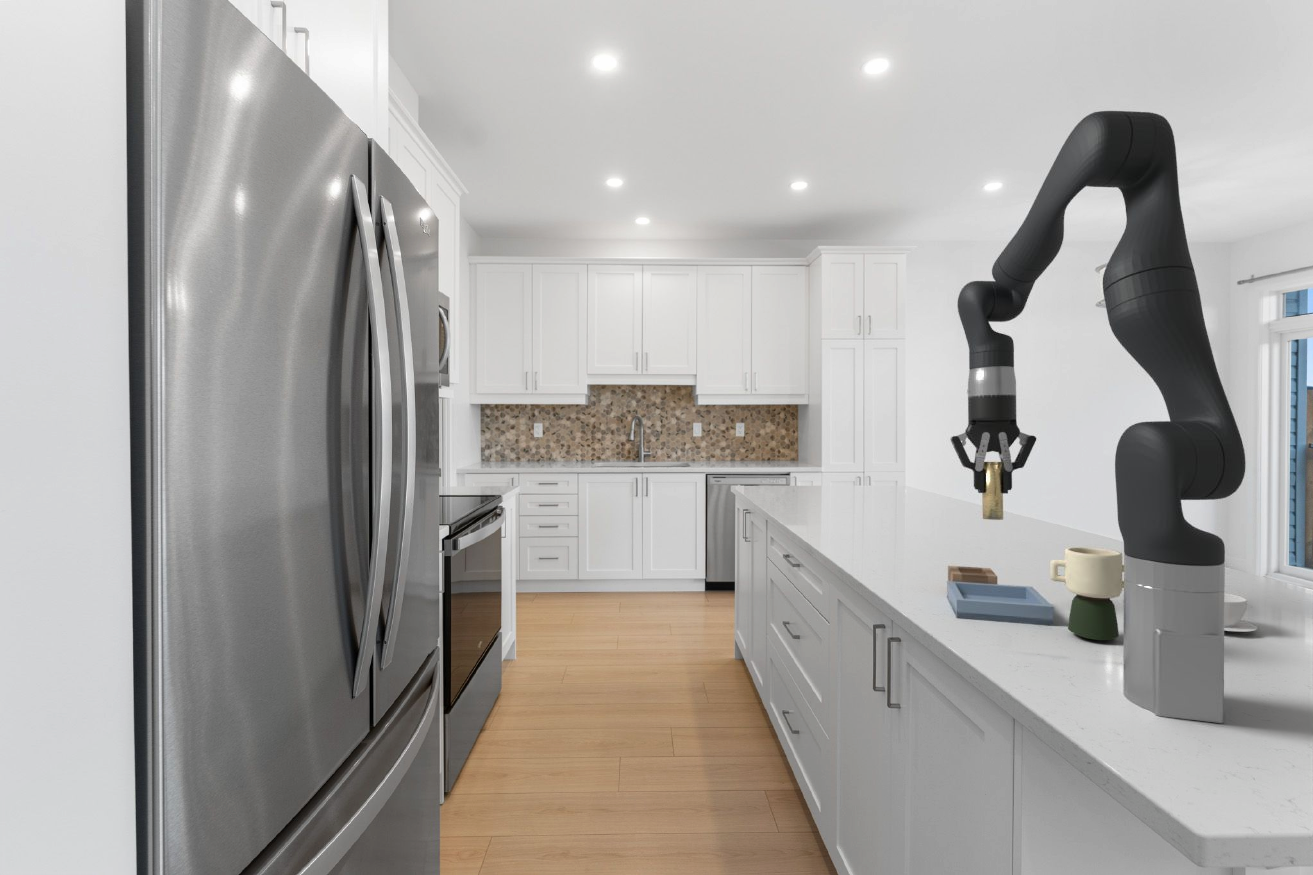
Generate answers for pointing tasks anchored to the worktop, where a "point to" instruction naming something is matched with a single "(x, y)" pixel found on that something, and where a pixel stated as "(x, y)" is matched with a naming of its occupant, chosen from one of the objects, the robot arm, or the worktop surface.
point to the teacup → (1235, 614)
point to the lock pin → (993, 491)
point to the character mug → (1091, 590)
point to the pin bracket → (971, 575)
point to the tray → (999, 603)
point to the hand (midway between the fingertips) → (992, 492)
